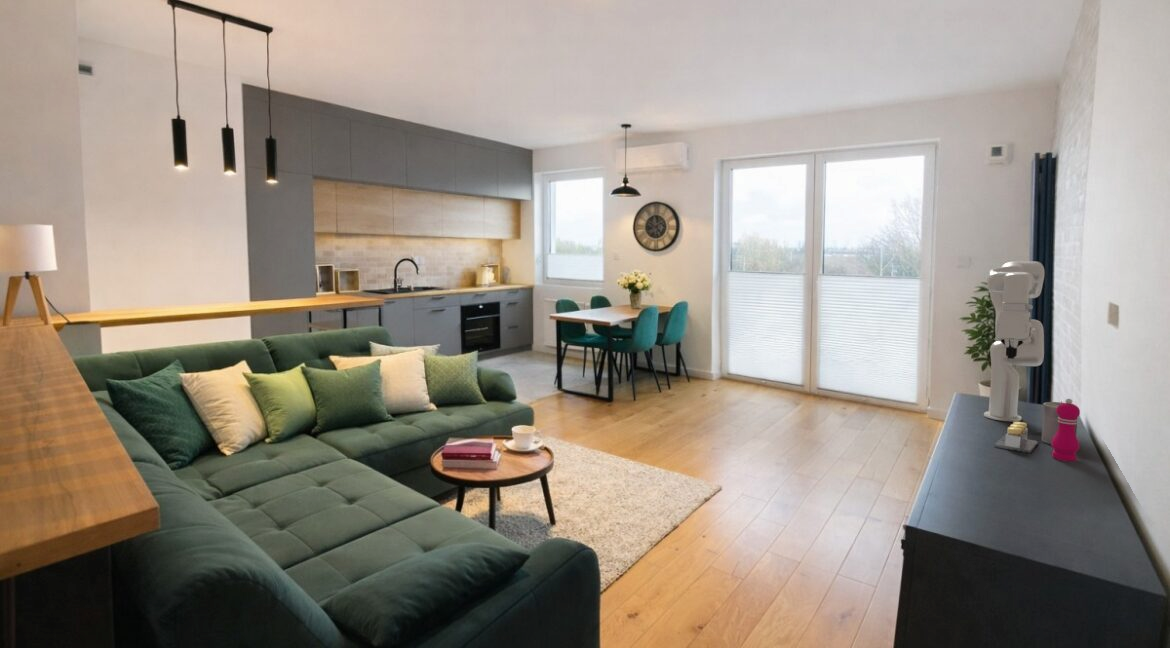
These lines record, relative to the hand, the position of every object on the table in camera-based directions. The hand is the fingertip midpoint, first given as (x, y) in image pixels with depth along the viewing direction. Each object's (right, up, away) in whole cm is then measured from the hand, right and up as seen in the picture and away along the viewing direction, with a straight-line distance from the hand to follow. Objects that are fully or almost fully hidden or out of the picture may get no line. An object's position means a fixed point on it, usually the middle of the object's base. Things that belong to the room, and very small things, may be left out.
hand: (1010, 358), depth 221 cm
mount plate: (-4, -30, -8) cm, 31 cm away
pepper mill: (+3, -32, -21) cm, 38 cm away
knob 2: (-7, -29, -11) cm, 32 cm away
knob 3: (0, -28, -4) cm, 29 cm away
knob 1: (-3, -29, -8) cm, 30 cm away
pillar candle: (+13, -30, -5) cm, 33 cm away
